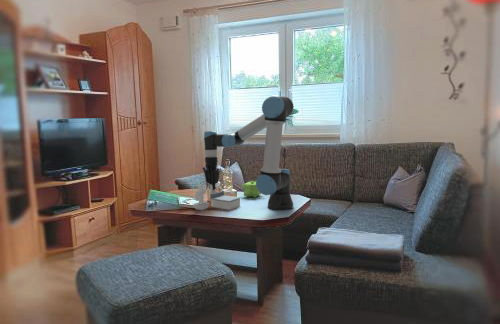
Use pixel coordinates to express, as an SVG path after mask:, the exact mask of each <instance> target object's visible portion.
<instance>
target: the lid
mask: <svg viewBox="0 0 500 324" xmlns="http://www.w3.org/2000/svg"><path fill="white" fill-rule="evenodd" d="M209 195H210V200H219V201H226V202H231V201H234V200H237V199H240V200H241V198H242V197H240V196H234V195H233V196H232V195H225V191H223V190H220V191H218V192H216V191H215V193H213V194H209Z"/></svg>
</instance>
